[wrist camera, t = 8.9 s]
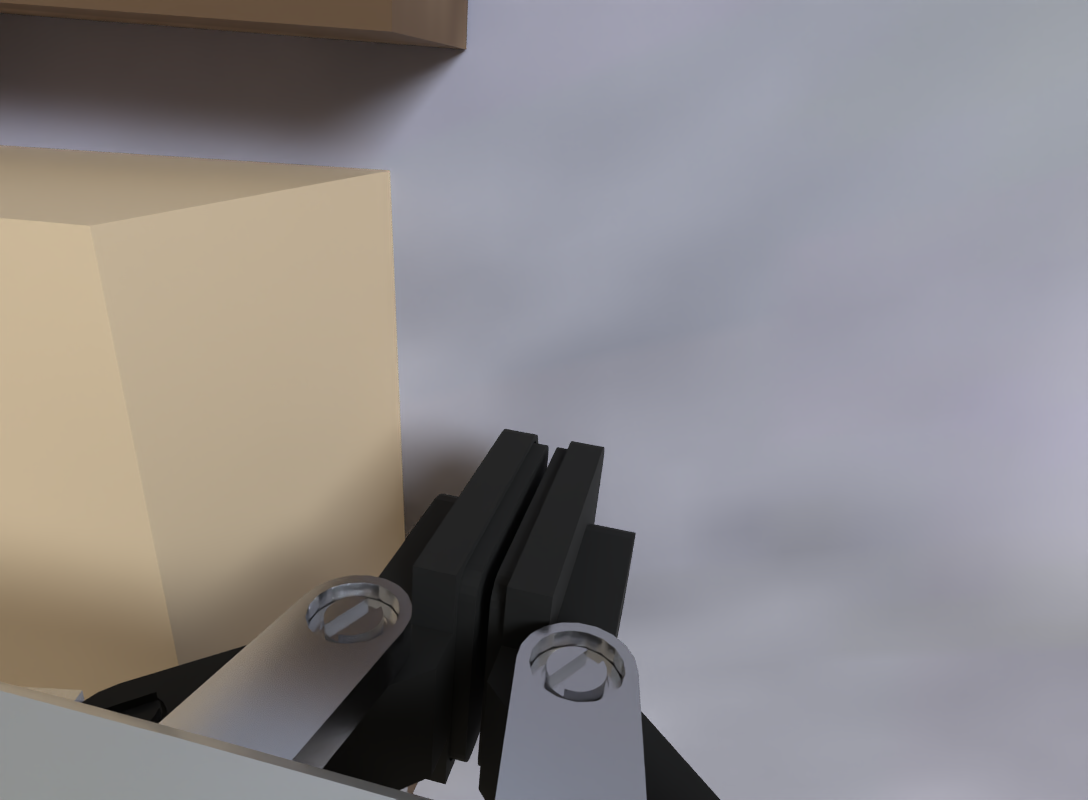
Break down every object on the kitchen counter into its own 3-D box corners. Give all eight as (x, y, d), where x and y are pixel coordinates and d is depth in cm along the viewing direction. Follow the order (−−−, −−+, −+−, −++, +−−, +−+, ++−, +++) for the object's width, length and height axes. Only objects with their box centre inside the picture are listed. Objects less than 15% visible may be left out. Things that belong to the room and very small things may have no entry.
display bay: (-121, -68, 13) (-334, -112, 11) (468, -35, 11) (391, -79, 9) (47, 625, 20) (-59, 706, 17) (443, 723, 18) (394, 834, 15)
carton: (-13, 143, 15) (-557, 169, 8) (393, 169, 13) (90, 226, 7) (87, 549, 19) (-237, 775, 12) (410, 610, 17) (227, 908, 11)
